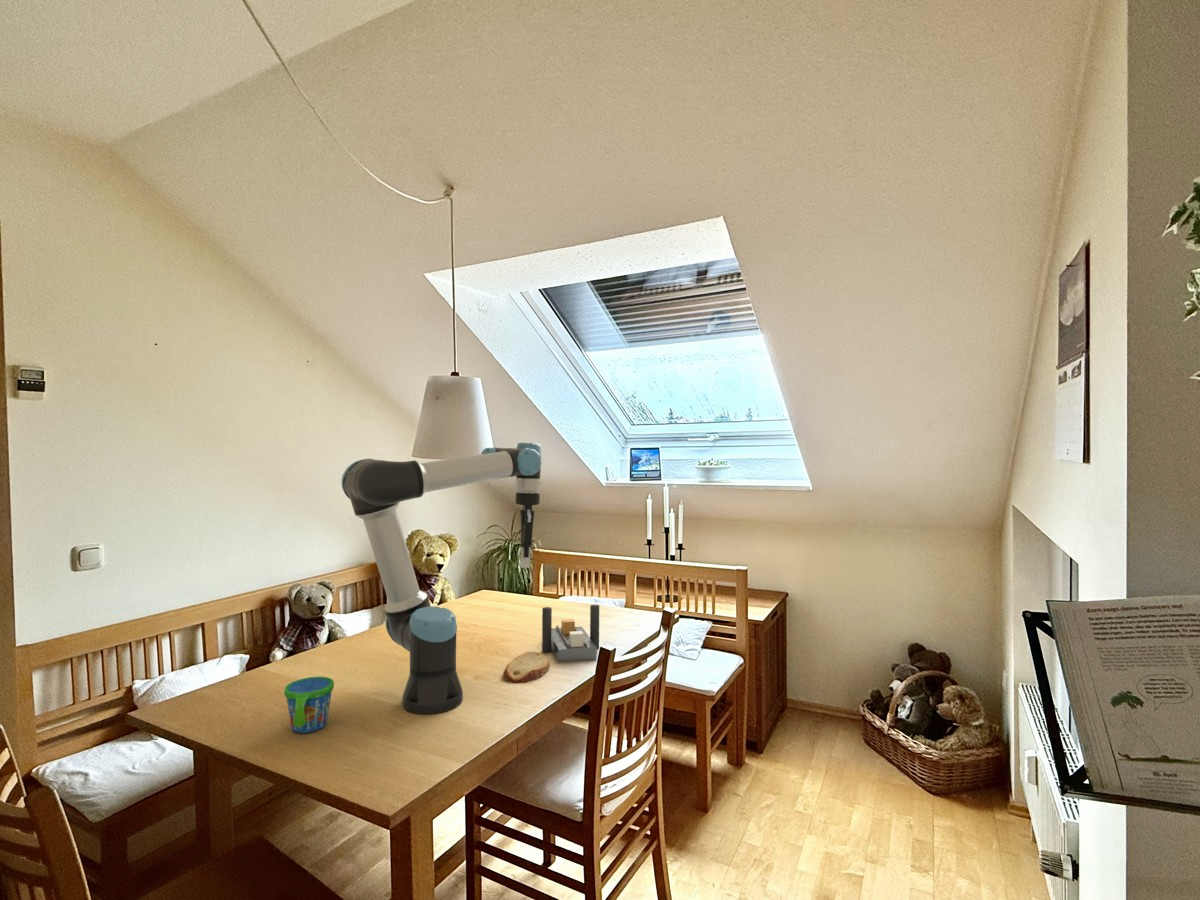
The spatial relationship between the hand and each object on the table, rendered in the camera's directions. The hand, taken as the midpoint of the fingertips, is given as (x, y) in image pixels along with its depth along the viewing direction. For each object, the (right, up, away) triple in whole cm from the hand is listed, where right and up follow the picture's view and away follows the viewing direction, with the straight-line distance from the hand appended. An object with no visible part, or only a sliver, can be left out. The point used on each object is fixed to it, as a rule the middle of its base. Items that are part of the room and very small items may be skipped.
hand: (525, 567), depth 191 cm
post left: (+6, -29, +7) cm, 30 cm away
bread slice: (+1, -30, -8) cm, 31 cm away
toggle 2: (+16, -25, +1) cm, 29 cm away
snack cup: (-45, -29, -47) cm, 71 cm away
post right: (+22, -29, +11) cm, 38 cm away
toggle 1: (+13, -25, +14) cm, 31 cm away
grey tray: (+14, -29, +9) cm, 33 cm away
